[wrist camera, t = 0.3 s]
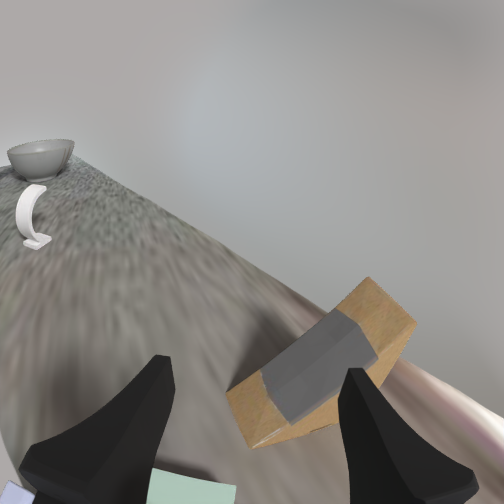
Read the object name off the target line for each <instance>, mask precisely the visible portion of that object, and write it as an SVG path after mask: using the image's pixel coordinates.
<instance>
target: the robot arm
mask: <svg viewBox="0 0 504 504" xmlns="http://www.w3.org/2000/svg"><path fill="white" fill-rule="evenodd" d="M174 394H175V384H174V377H173V371H172V365H171V358H170V357H169V356H162V355H155V356H154V357H153V358H152V359H151V360H150V361H149V363H148V364H147V365H146V366H145V367H144V368H143V369H142V370H141V371H140V373H139V374H138V375H137V376H136V377H135V378H134V379H133V380H132V381H131V382H130V383H129V384H128V385H127V386H126V387H125V388H124V389H123V390H122V391H121V392H120V393H119V394H118V395H116V396H115V397H114V398H113V399H112V400H111V401H110V402H109V403H107V404H106V405H105V406H104V407H102V408H101V409H100V410H99V411H97V412H96V413H95V414H93V415H92V416H90V417H89V418H87V419H86V420H84V421H83V422H81V423H79V424H78V425H76V426H74V427H73V428H71V429H69V430H67V431H65V432H63V433H61V434H59V435H57V436H55V437H53V438H50V439H48V440H45V441H42V442H39V443H37V444H34V445H31V447H30V448H29V450H28V451H27V453H26V455H25V457H24V459H23V461H22V463H21V465H20V467H19V471H20V473H21V475H22V476H23V477H24V478H25V479H26V480H27V481H28V482H29V483H30V484H31V485H32V486H34V487H35V488H36V489H37V490H38V491H37V493H36V495H34V494H33V493H31V492H30V491H28V490H26V489H24V488H23V487H21V486H19V485H17V484H15V483H14V482H12V481H8V482H7V484H6V486H5V488H4V490H3V492H2V495H1V497H0V504H146V502H147V495H148V489H149V484H150V478H151V473H152V468H153V464H154V459H155V456H156V452H157V449H158V446H159V444H160V441H161V438H162V435H163V432H164V429H165V427H166V424H167V421H168V418H169V415H170V412H171V408H172V404H173V399H174ZM337 401H338V414H339V423H340V428H341V433H342V438H343V443H344V448H345V452H346V457H347V462H348V469H349V482H350V504H464V503H465V502H466V501H467V500H469V499H470V498H471V497H472V496H474V495H475V494H476V493H477V491H478V490H479V485H478V482H477V479H476V477H475V474H474V472H473V470H471V469H469V468H467V467H465V466H463V465H461V464H459V463H457V462H455V461H454V460H452V459H450V458H449V457H447V456H446V455H444V454H443V453H441V452H440V451H438V450H437V449H435V448H434V447H433V446H432V445H430V444H429V443H428V442H426V441H425V440H424V439H423V438H422V437H420V436H419V435H418V434H417V433H416V432H415V431H414V430H413V429H412V428H411V427H410V426H409V425H408V424H407V423H406V422H405V421H404V420H403V419H402V418H401V417H400V416H399V415H398V413H397V412H396V411H395V410H394V409H393V408H392V406H391V405H390V404H389V403H388V401H387V400H386V399H385V397H384V396H383V395H382V394H381V392H380V391H379V390H378V388H377V387H376V385H375V384H374V383H373V381H372V380H371V379H370V377H369V376H368V374H367V373H366V372H365V370H364V369H363V368H348V371H347V374H346V377H345V380H344V383H343V385H342V388H341V391H340V394H339V397H338V399H337Z"/></svg>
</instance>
